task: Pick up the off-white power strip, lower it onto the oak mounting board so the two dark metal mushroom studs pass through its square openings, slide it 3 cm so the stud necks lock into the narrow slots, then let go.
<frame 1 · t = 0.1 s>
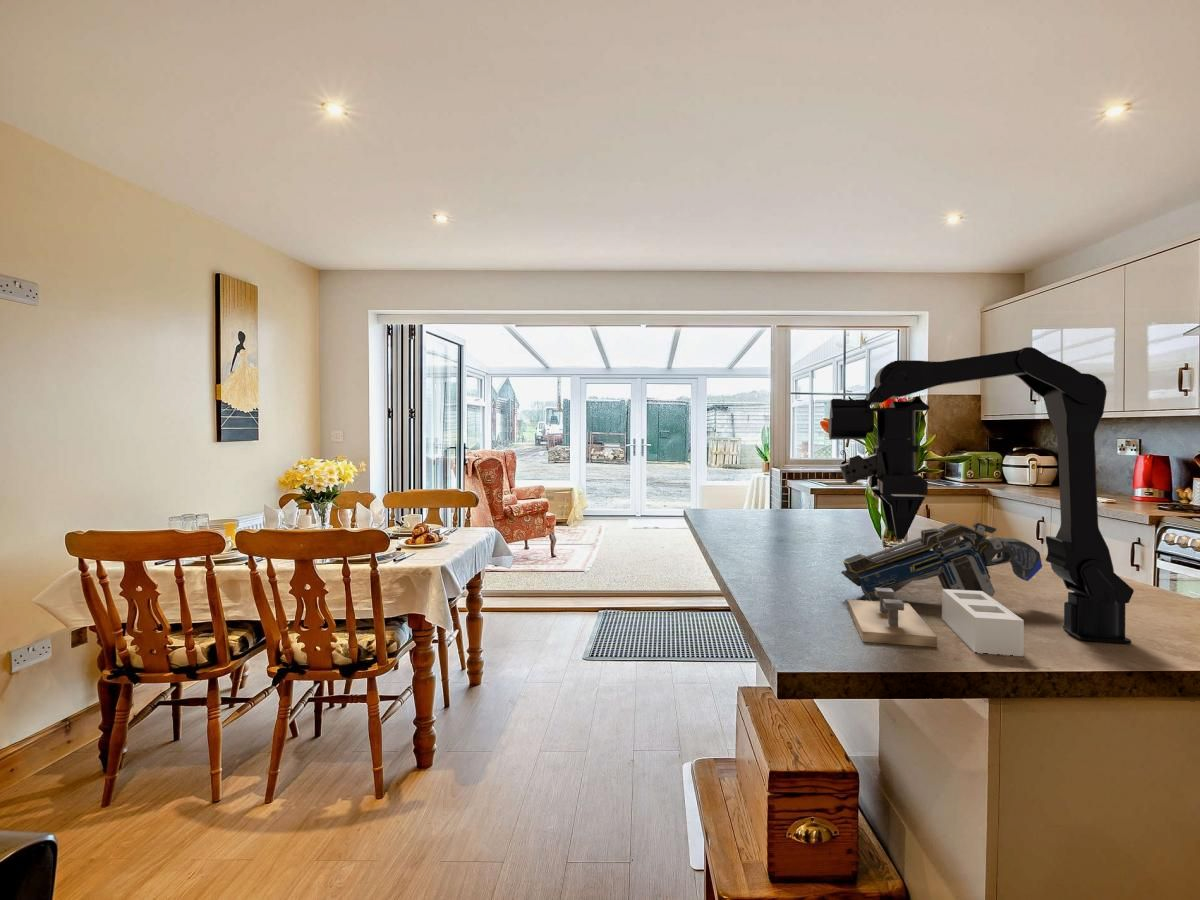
hand: (895, 534, 104), 15 cm above the countertop, tool pointing down, fingers open, 9 cm apart
firearm: (936, 603, 118), on the countertop
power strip: (978, 635, 97), on the countertop
mounting board: (887, 625, 103), on the countertop
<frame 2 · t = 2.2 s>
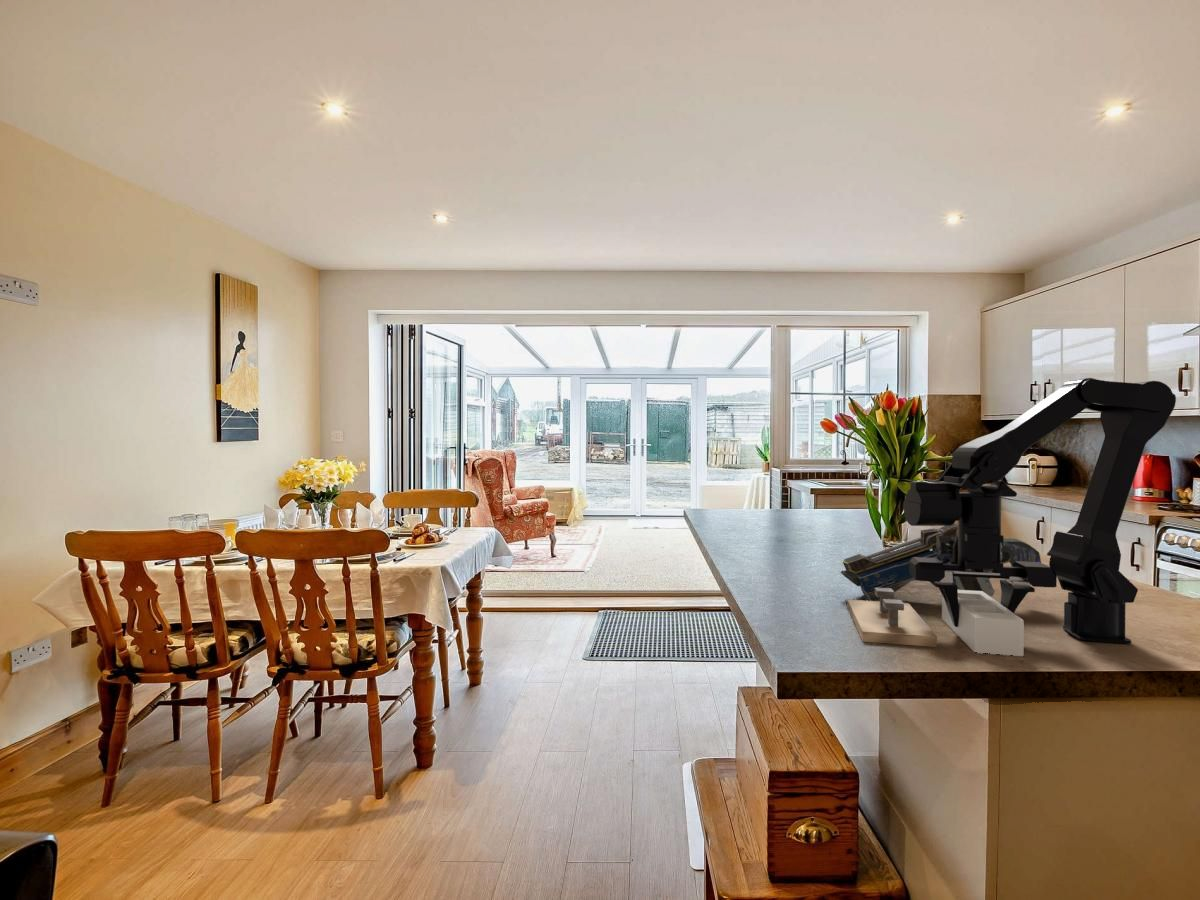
hand: (978, 627, 97), 1 cm above the countertop, tool pointing down, fingers closed on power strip, 6 cm apart
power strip: (978, 635, 97), on the countertop, touching gripper
everything else where it was.
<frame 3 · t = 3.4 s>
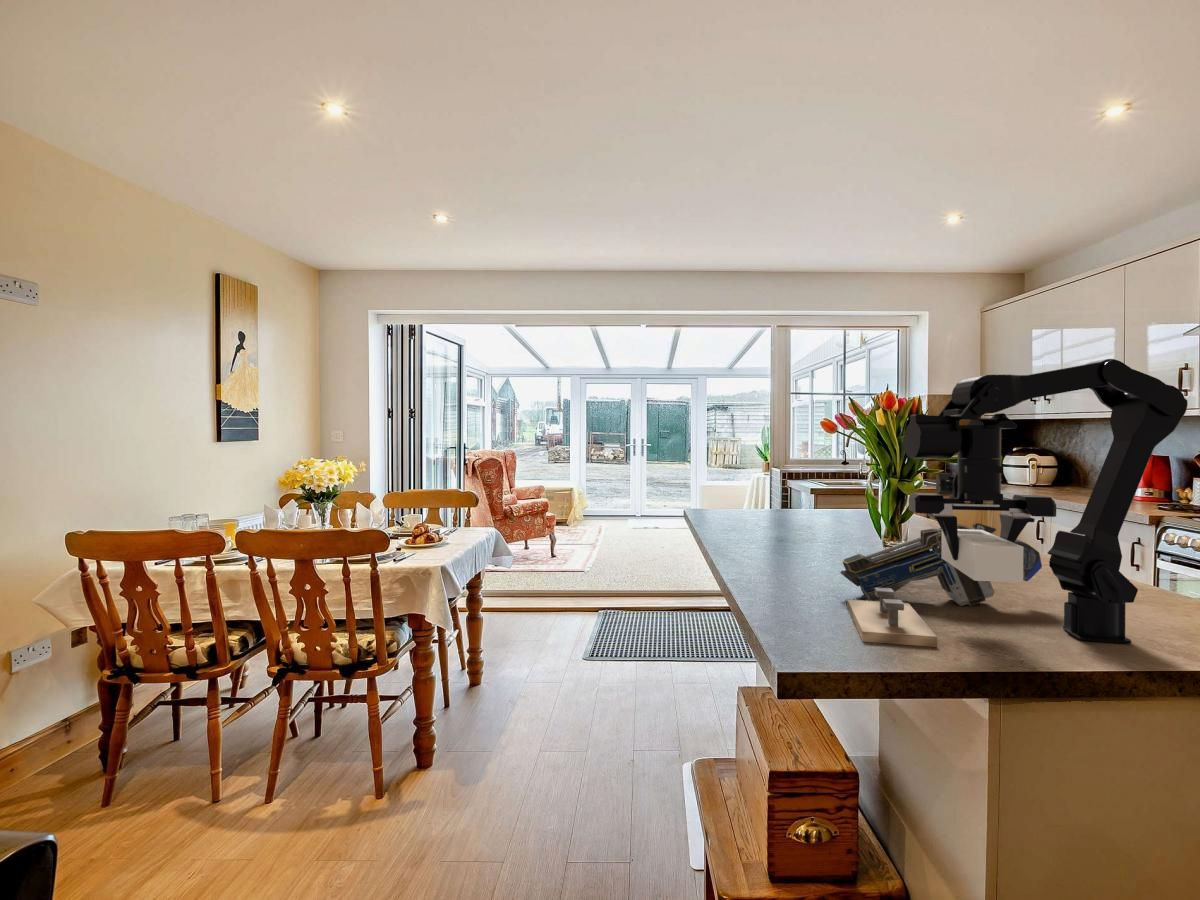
hand: (978, 560, 97), 11 cm above the countertop, tool pointing down, fingers closed on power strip, 6 cm apart
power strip: (978, 569, 97), point 10 cm above the countertop, touching gripper
everything else where it was.
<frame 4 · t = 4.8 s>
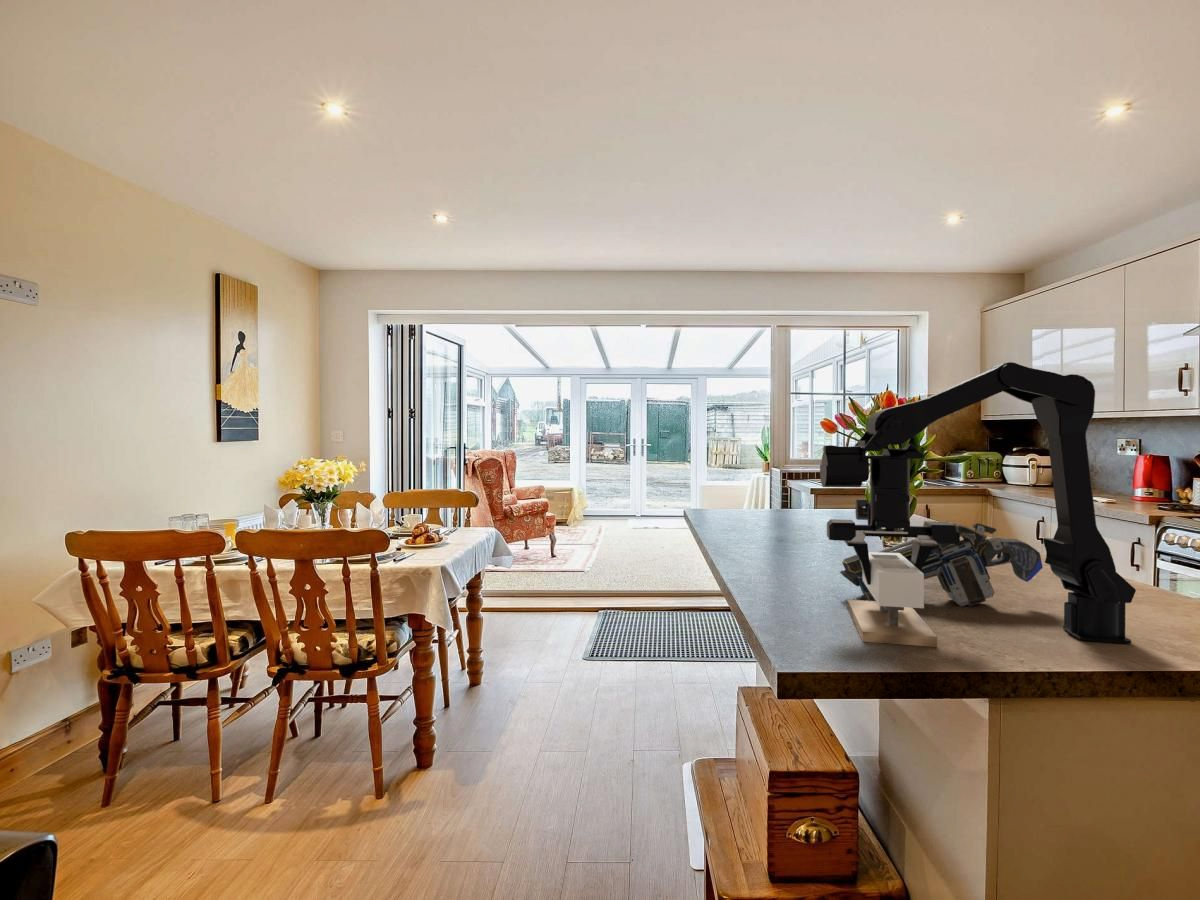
hand: (890, 585, 101), 7 cm above the countertop, tool pointing down, fingers closed on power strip, 6 cm apart
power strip: (890, 593, 101), point 6 cm above the countertop, touching gripper
everything else where it was.
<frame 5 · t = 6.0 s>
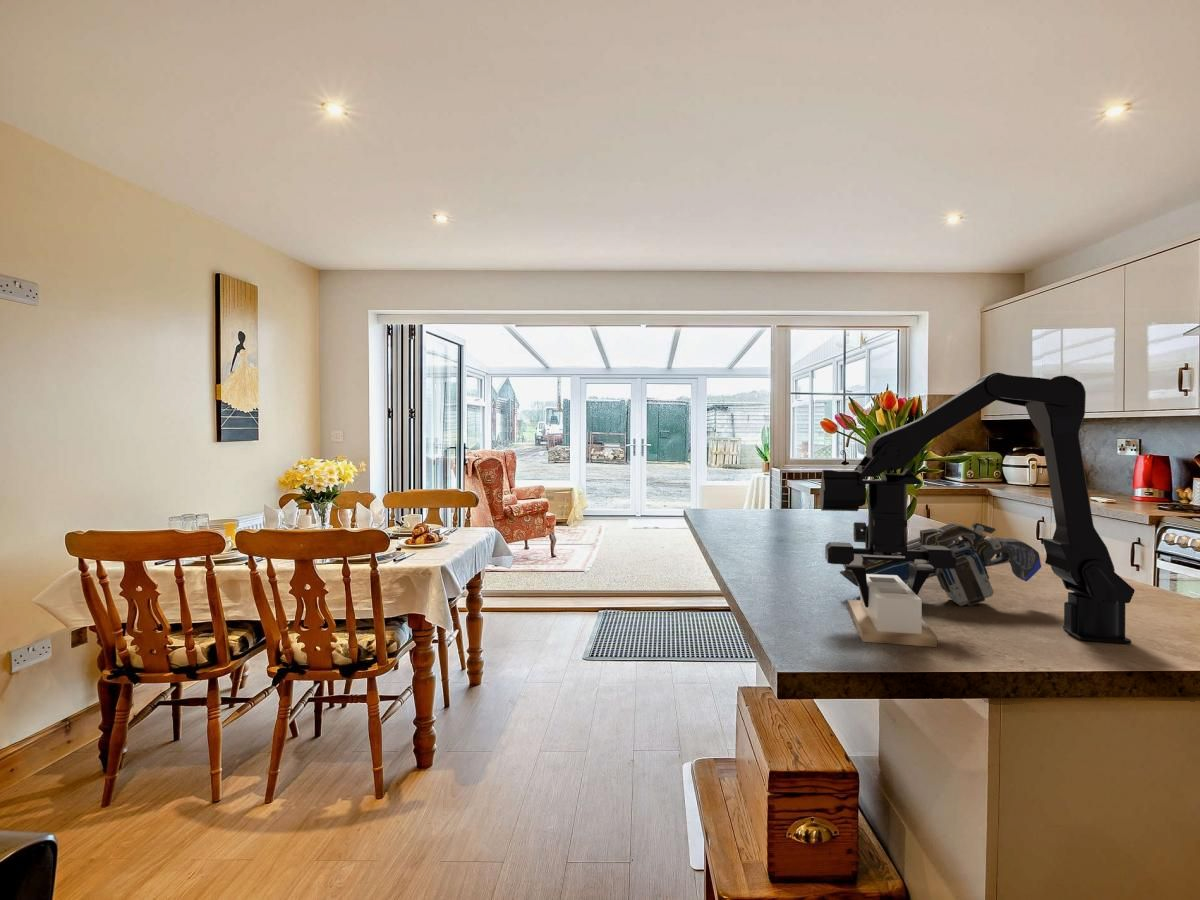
hand: (887, 608, 103), 3 cm above the countertop, tool pointing down, fingers closed on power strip, 6 cm apart
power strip: (888, 616, 103), point 2 cm above the countertop, touching gripper
everything else where it was.
when the fingers open (3 cm above the countertop, at t = 6.7 s): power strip stays where it is, resting on mounting board.
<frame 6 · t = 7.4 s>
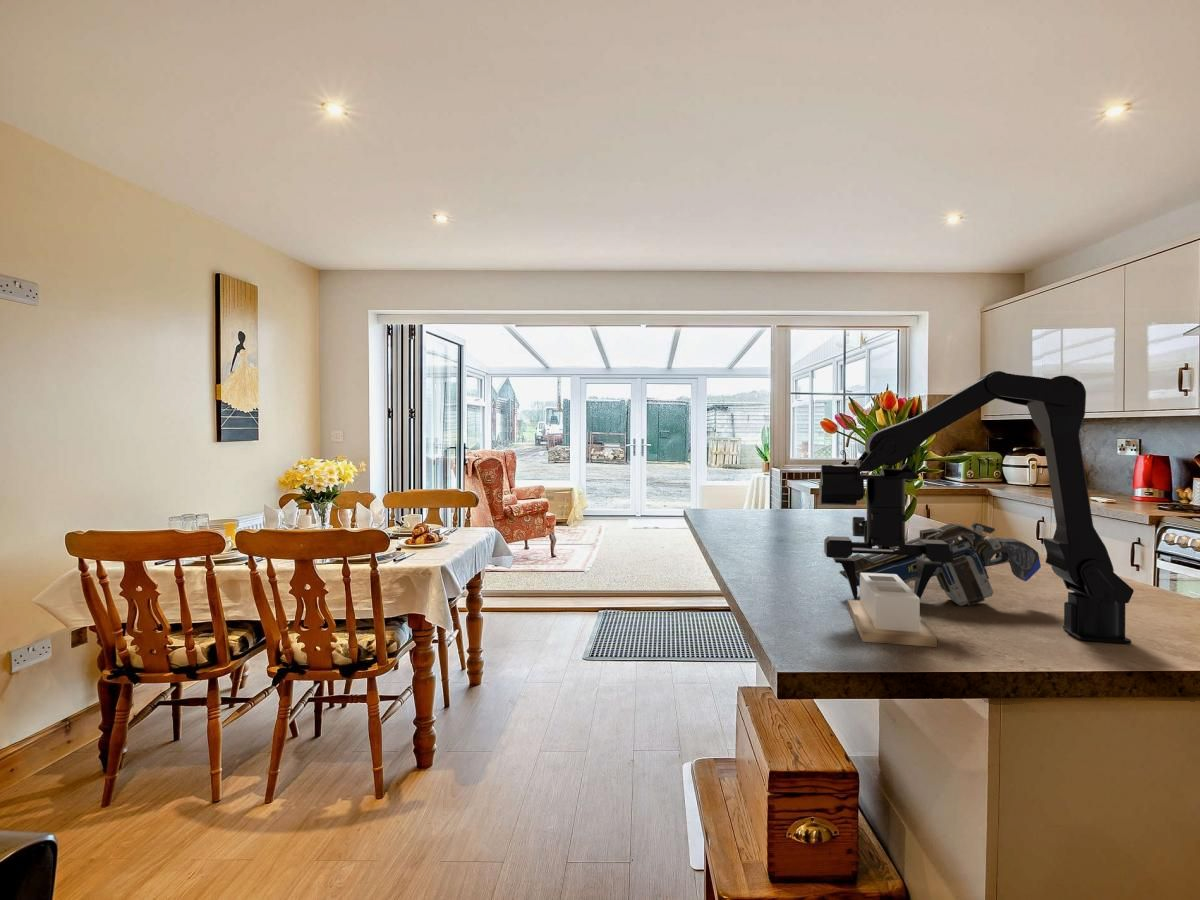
hand: (885, 601, 104), 4 cm above the countertop, tool pointing down, fingers open, 9 cm apart
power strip: (886, 614, 104), point 1 cm above the countertop, touching mounting board
everything else where it was.
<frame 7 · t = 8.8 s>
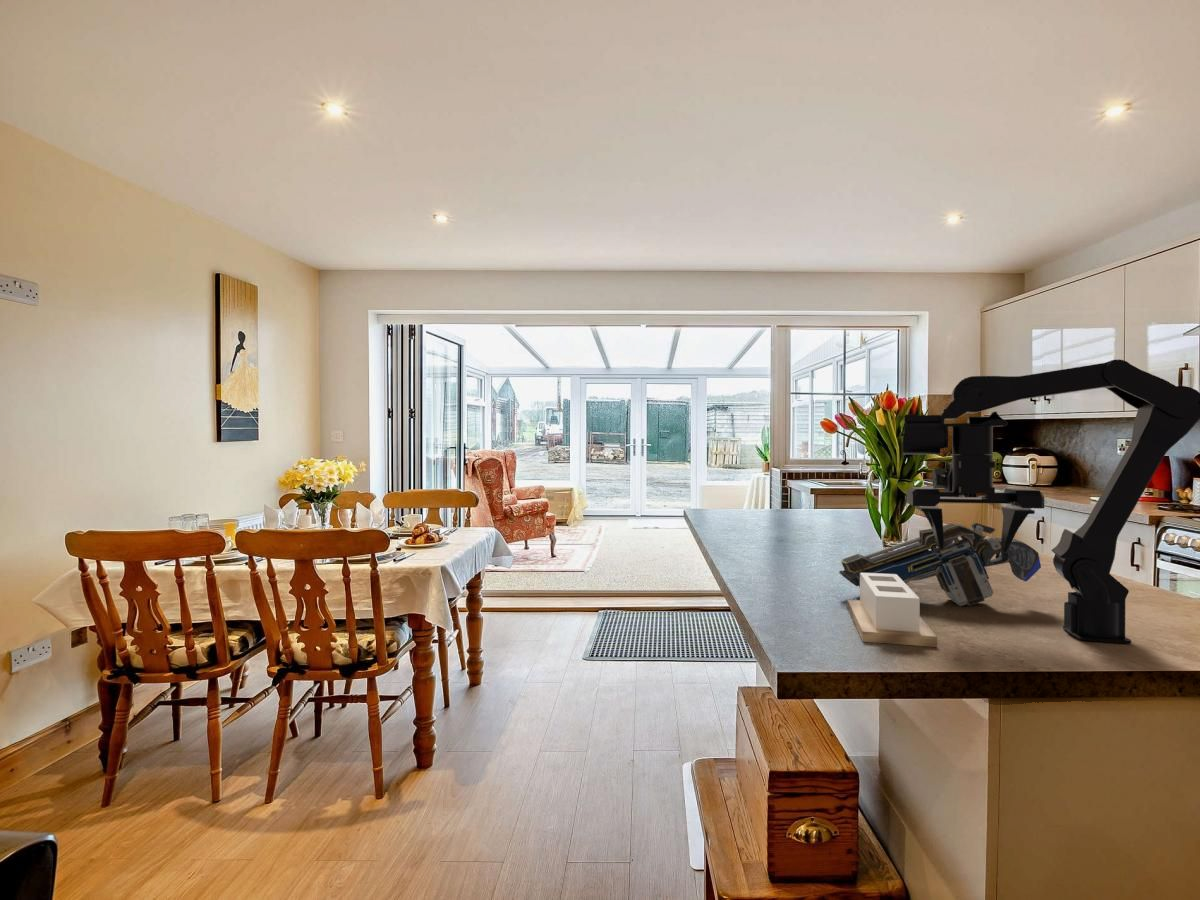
hand: (972, 550, 104), 12 cm above the countertop, tool pointing down, fingers open, 9 cm apart
nothing on the countertop moved.
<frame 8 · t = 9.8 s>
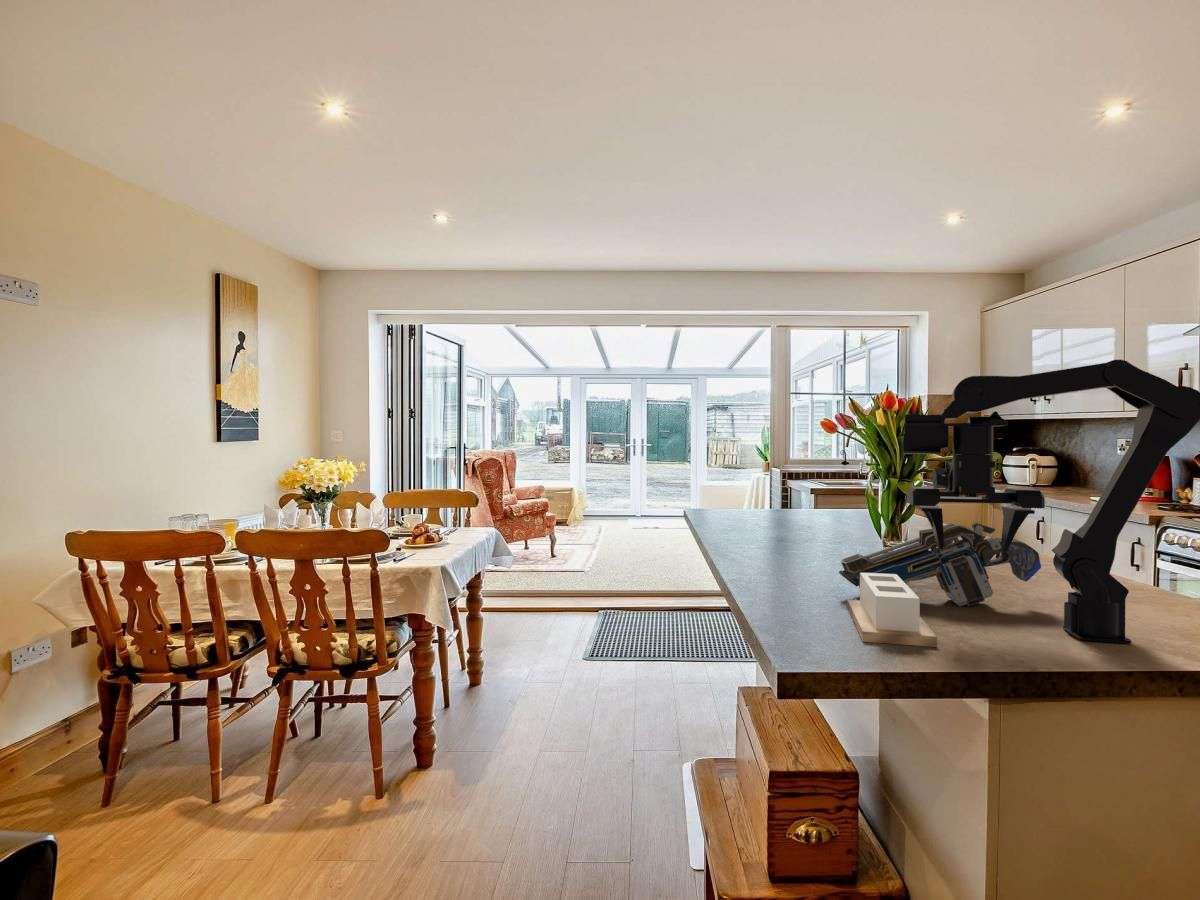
hand: (972, 550, 104), 12 cm above the countertop, tool pointing down, fingers open, 9 cm apart
nothing on the countertop moved.
at the end: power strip 1.2 cm from the target spot on the mounting board, point 1.5 cm above the mounting board's base; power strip tilted 0°; the gripper is holding nothing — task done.
